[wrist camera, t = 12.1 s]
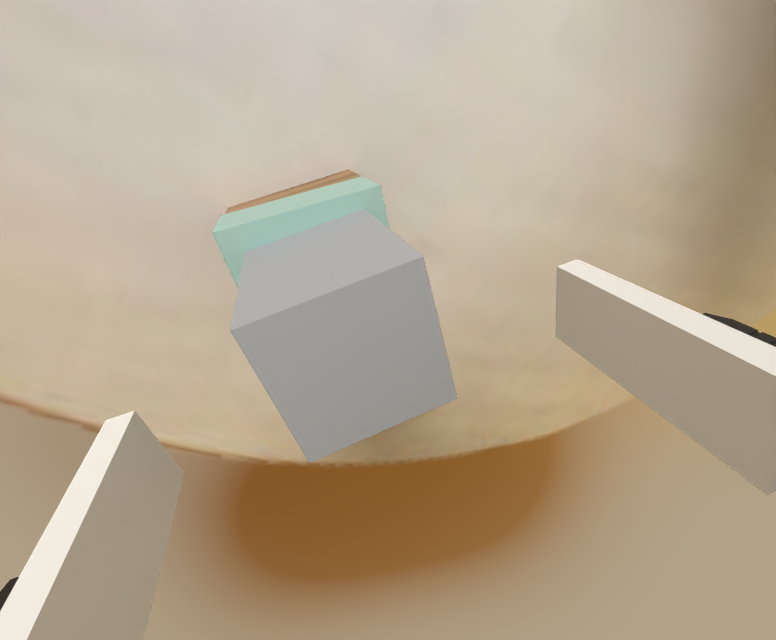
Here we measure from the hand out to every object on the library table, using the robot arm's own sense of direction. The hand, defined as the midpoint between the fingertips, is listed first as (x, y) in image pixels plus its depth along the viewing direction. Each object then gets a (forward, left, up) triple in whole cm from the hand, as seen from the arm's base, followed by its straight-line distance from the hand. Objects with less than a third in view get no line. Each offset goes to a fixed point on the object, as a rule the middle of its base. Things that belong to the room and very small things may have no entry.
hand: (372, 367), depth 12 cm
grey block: (+1, 0, -9) cm, 9 cm away
